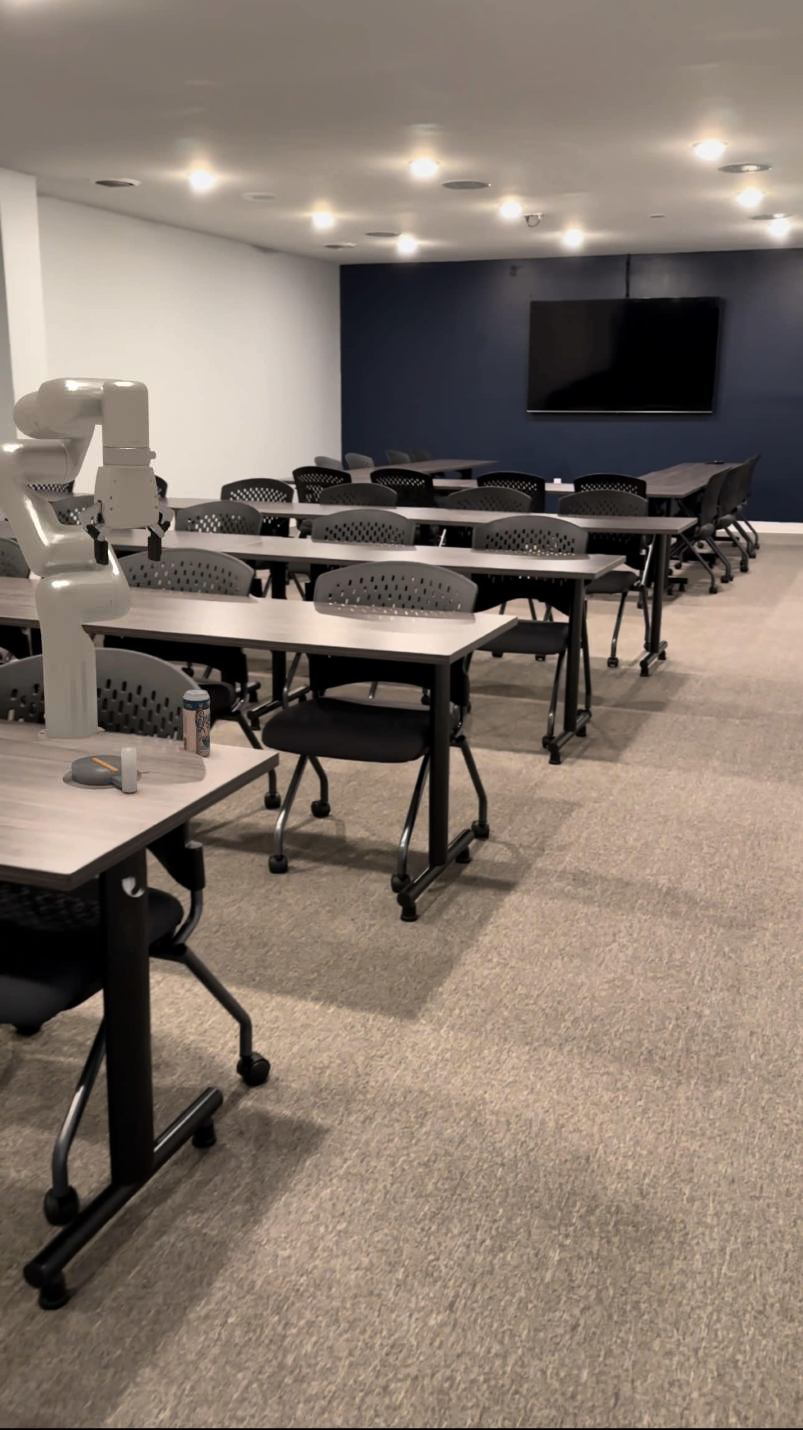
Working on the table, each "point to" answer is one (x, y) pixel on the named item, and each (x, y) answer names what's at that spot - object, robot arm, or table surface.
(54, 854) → the table surface
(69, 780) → the board
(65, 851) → the table surface
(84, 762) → the dial
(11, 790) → the table surface
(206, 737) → the beer can
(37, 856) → the table surface
